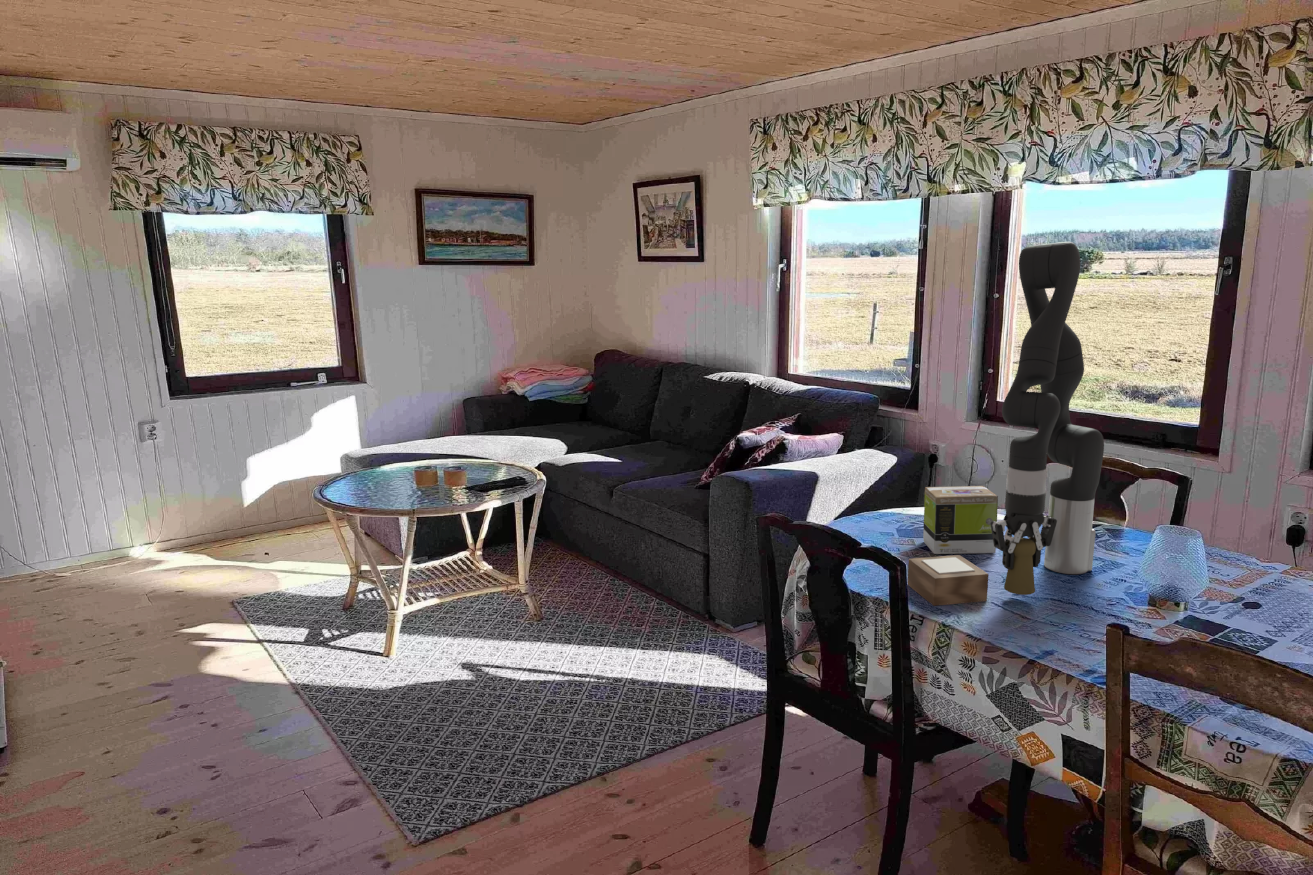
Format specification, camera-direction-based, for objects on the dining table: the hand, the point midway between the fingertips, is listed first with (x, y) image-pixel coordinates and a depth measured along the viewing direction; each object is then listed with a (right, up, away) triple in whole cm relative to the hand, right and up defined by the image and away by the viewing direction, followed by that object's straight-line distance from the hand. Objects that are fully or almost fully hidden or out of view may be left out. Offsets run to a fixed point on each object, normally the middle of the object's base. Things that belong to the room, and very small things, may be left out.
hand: (1020, 566), depth 182 cm
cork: (0, -5, +1) cm, 5 cm away
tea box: (-1, -1, +34) cm, 34 cm away
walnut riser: (-13, -6, +6) cm, 16 cm away
